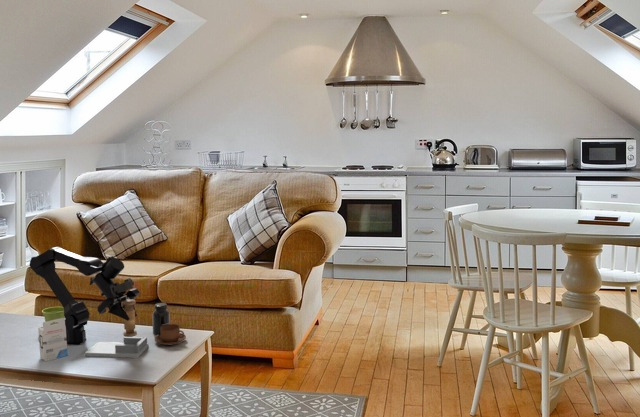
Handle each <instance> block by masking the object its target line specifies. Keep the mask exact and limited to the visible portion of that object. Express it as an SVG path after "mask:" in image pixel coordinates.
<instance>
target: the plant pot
mask: <svg viewBox="0 0 640 417" xmlns="http://www.w3.org/2000/svg"><path fill="white" fill-rule="evenodd" d="M41 313H42V316H43V317H44V320H45V321H44V322H46V321H51V320H55V319H60V318H65V316H64V308H63V306H51V307H47V308H46V307H45V308H44V309H42V310H41ZM53 324H58V322H56V323H55V322H53V323H51V324H50V325H53Z"/></svg>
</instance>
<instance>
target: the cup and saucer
mask: <svg viewBox="0 0 640 417" xmlns="http://www.w3.org/2000/svg"><path fill="white" fill-rule="evenodd" d="M160 331H161V334H160V335H155V337H154V342H155V343H157V344H159V345H163V346H172V345H178V344H180V343H182V342H184V341H185V340H186V338H187V336H186V334H185V332H184V331H183V330H181V329H180V325H178V324H174V323H170V324H168V325H163V326H161V327H160Z"/></svg>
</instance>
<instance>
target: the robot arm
mask: <svg viewBox="0 0 640 417" xmlns="http://www.w3.org/2000/svg"><path fill="white" fill-rule="evenodd" d="M57 261H58V262H61V263H63V264H65V265H69V266H71V267H74V268H76V269H77V270H78V272H79V273H81V274H82V275H84V276H85V277H89V276H91V277H90V278H89V279H90V281H89V285H90V286H93V285H96V286H97V288H98V289H99V291H100V292H101V294H100V296H101V297H105V298H106V299H103V300H102V301H101V302H100V304H98V306H97V307H96V309H97V310H96V311H97V312H98V313H99V315H103V314H105V313H106V312H107V314H112V315H114V316H116V317H119V318H121V319H122V320H124V319H125V320H127V321H128V320H129V319H130V318H129V317H128V315H127V314H126V312H125V311H124V310H125V305H122V301H124V300H128V299H133V300H135V299H136V298H137V297H138V296H139V294H140V293H141V292H140V290H138V288H134V286H135V282H134V281H133V280H132V279H131V277H130V278H126V279H125V280H124V281H123V282H122V283H119V282H115V281H114V279H116V278H117V277H118V276H119V275H120V274H121V272H122V271H123V270H125V264H124V262H123V261H122V260H120V259H118V258H116V257H114V256H113V255H111V256H108V258H107V259H106V261H102V260H101V259H100V258H99V257H92V256H82V255H80V254H77V253H74V252H71V251H68V250H66V249H63V248H62V247H60V246H55V247H51V248H48V249H47V250H46V251H45V252H42V253H40V254H39V255H36V256H32V257H31V259H30V260H29V268H30V269H31V270H32V271H33V272H34V273H35V274H36V275H37V276H39V277H41V278H43V279H44V280H45V282H46V284H47V286H49V289H50V290H51V291H52V292H53V294H54V295H55V297H56V298H57V300H58V301H59V303H60V304H61V307H63V308H64V318H65V326H66V339H67V346H68V345H69V346H71V345H73V346H81V344H83V343H84V342H86V341H87V338H86V337H87V335H86V329H85V326H87V325H88V321H89V319H90V311H89V308H88V307H87V306H86V304H85V302H84V301H77V300H76V299H75V298H74V297H73V295H72V294H71V292H70V290H69V289H68V287H66V285H65V283H64V282H63V280H62V279H61V278H60V276H59V275H58V273H57V271H56V262H57ZM93 275H95V276H93ZM107 309H108V311H107ZM133 309H135V318H137V317H138V314H137V311H136V308H135V304H134V305H133Z"/></svg>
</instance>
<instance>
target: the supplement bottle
mask: <svg viewBox="0 0 640 417" xmlns="http://www.w3.org/2000/svg"><path fill="white" fill-rule="evenodd" d="M170 316H171V314H170V311H169V310H168V304H167V303H166V302H157V303H155V305H154V311H153V312H152V333H153V335H155V336H158V335H160V334H161V331H160V327H161V326H163V325H168V324H171V319H170V318H171V317H170Z"/></svg>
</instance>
